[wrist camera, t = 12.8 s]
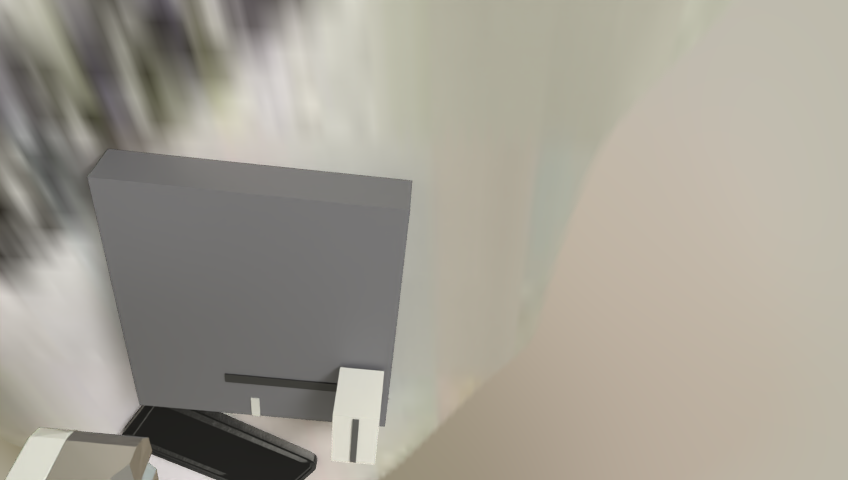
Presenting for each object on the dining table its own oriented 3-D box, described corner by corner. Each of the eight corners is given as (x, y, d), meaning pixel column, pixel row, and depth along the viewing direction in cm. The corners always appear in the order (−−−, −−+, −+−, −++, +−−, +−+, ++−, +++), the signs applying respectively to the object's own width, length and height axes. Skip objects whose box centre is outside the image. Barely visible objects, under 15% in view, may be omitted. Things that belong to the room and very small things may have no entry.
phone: (154, 393, 54) (321, 464, 59) (159, 381, 55) (323, 453, 60) (116, 441, 58) (275, 504, 63) (121, 429, 59) (278, 493, 64)
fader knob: (337, 413, 51) (330, 462, 48) (340, 367, 48) (332, 416, 44) (379, 416, 51) (374, 466, 48) (384, 371, 48) (379, 420, 45)
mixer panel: (153, 373, 54) (139, 405, 51) (107, 148, 41) (86, 178, 39) (387, 394, 54) (384, 427, 52) (411, 180, 42) (409, 211, 40)
